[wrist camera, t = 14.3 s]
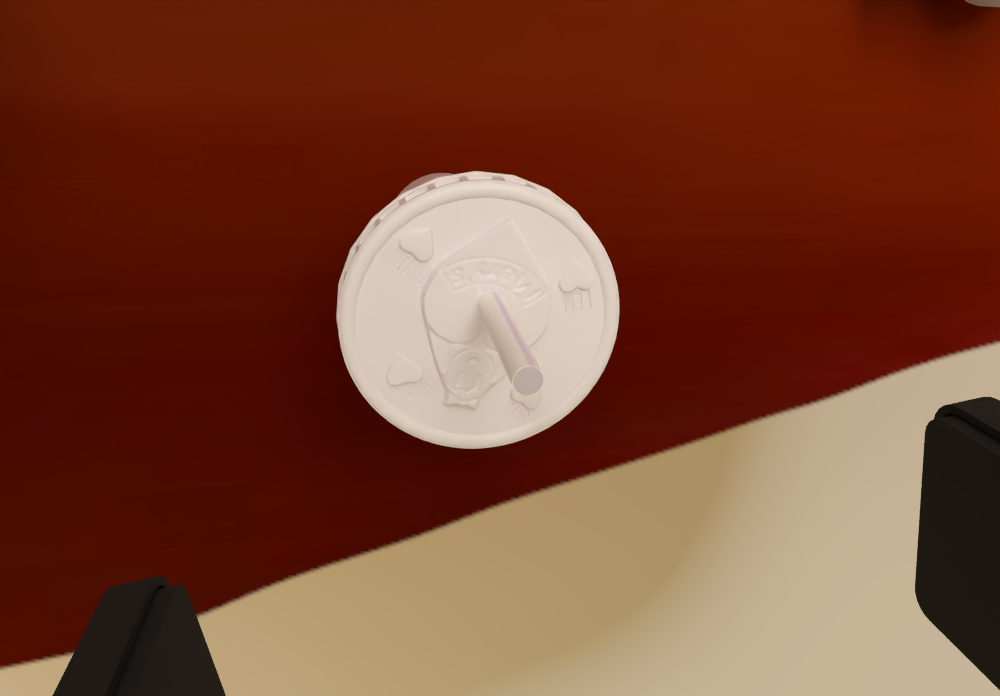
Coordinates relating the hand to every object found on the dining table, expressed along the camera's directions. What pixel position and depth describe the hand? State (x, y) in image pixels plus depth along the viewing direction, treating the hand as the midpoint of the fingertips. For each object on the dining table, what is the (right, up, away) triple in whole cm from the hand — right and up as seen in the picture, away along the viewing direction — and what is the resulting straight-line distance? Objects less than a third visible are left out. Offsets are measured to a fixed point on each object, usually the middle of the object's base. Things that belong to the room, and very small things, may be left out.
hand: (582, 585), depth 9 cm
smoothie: (-3, +7, +16) cm, 18 cm away
